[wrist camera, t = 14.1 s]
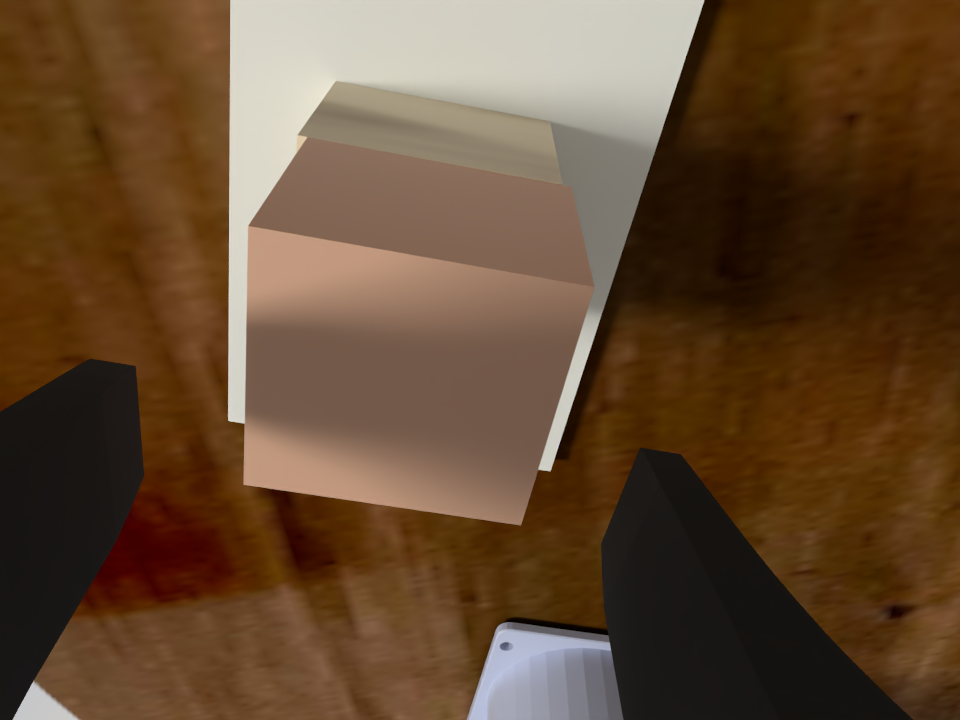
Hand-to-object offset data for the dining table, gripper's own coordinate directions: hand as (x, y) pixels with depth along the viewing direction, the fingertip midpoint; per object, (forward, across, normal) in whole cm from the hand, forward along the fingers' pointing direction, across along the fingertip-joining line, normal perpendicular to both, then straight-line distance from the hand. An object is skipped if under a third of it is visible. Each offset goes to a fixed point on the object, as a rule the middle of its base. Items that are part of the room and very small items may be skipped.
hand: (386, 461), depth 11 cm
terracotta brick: (+6, 0, 0) cm, 6 cm away
